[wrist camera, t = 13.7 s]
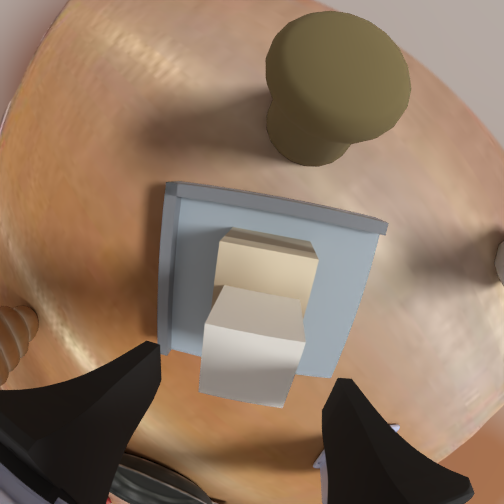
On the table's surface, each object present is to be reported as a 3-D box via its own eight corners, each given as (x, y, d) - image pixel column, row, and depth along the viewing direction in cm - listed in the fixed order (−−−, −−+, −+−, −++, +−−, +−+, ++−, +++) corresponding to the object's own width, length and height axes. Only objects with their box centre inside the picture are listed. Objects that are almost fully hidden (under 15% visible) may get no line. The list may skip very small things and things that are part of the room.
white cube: (282, 359, 15) (282, 407, 11) (215, 346, 15) (198, 391, 11) (299, 299, 14) (306, 342, 10) (224, 285, 14) (204, 323, 10)
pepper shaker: (259, 89, 16) (234, -5, 6) (344, 81, 15) (404, -3, 5) (273, 171, 18) (265, 160, 7) (360, 162, 17) (453, 149, 6)
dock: (328, 367, 21) (332, 386, 19) (168, 336, 22) (157, 353, 20) (375, 217, 18) (388, 223, 15) (180, 181, 18) (166, 182, 16)
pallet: (284, 345, 19) (284, 380, 15) (217, 332, 20) (205, 365, 16) (310, 241, 17) (318, 259, 13) (233, 226, 17) (219, 241, 13)
